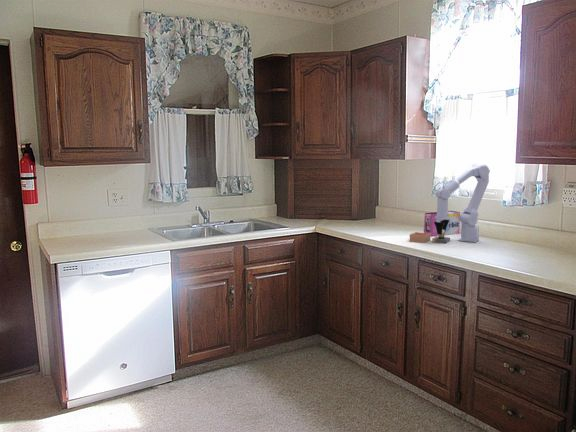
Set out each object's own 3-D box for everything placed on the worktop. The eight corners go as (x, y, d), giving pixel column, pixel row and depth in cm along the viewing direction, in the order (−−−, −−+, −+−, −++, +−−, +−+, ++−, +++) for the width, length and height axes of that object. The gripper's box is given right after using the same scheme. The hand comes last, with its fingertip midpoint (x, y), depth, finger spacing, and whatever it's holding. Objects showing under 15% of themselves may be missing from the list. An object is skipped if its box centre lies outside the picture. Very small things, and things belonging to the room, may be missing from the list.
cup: (430, 240, 292) (430, 233, 292) (425, 242, 284) (425, 235, 284) (414, 238, 297) (415, 232, 297) (409, 241, 289) (409, 234, 289)
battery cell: (444, 241, 289) (445, 228, 288) (443, 242, 286) (443, 229, 285) (439, 240, 291) (439, 228, 289) (437, 241, 288) (437, 228, 287)
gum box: (430, 236, 304) (431, 214, 302) (421, 234, 310) (422, 213, 309) (459, 233, 314) (460, 211, 313) (450, 231, 321) (451, 210, 319)
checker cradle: (450, 241, 289) (450, 237, 289) (446, 243, 283) (446, 239, 282) (436, 239, 294) (436, 236, 293) (432, 242, 287) (432, 238, 287)
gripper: (438, 207, 294) (437, 230, 296) (431, 210, 282) (430, 234, 284) (451, 208, 290) (450, 231, 292) (444, 211, 278) (443, 235, 280)
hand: (441, 233), depth 288 cm, fingers open, 7 cm apart
